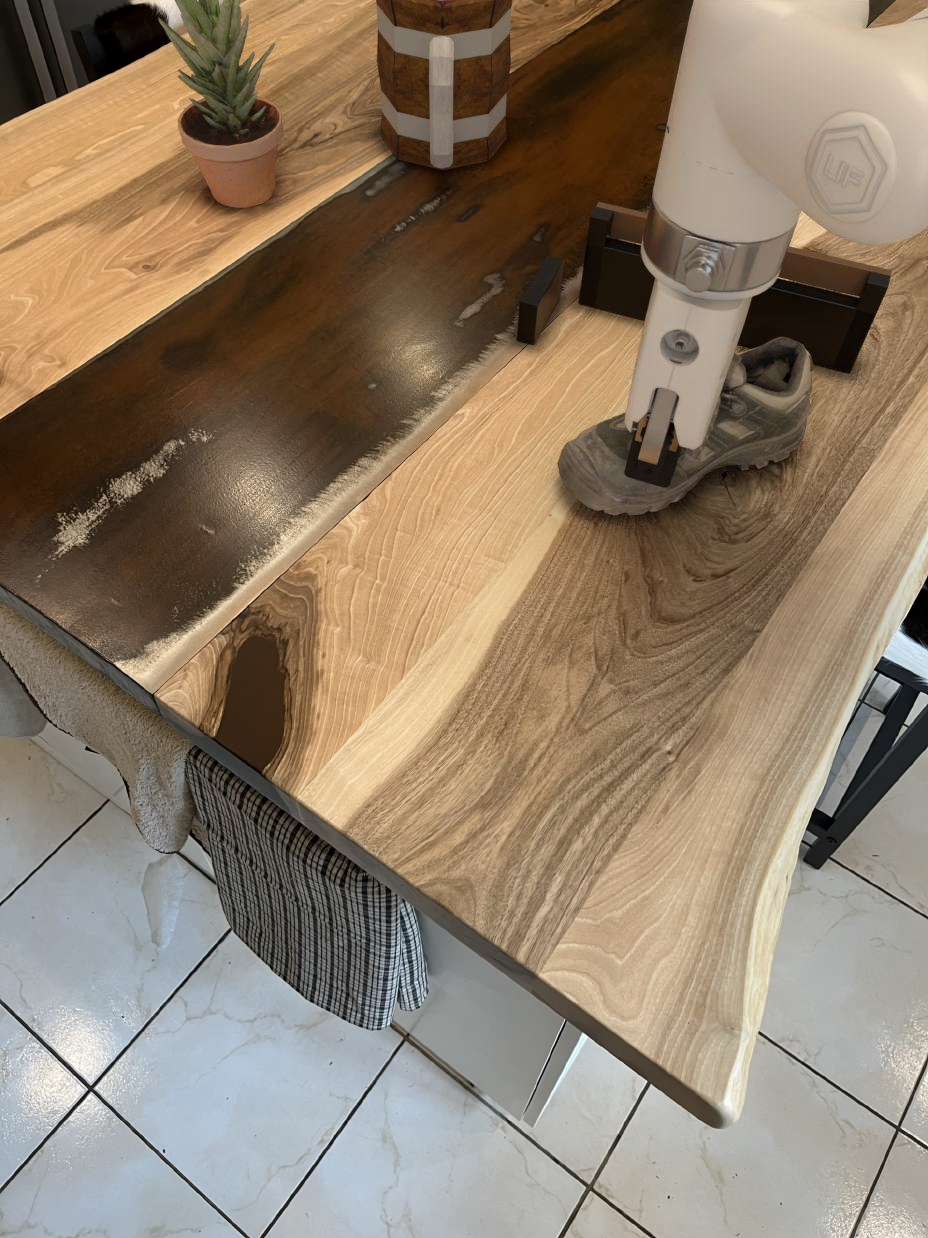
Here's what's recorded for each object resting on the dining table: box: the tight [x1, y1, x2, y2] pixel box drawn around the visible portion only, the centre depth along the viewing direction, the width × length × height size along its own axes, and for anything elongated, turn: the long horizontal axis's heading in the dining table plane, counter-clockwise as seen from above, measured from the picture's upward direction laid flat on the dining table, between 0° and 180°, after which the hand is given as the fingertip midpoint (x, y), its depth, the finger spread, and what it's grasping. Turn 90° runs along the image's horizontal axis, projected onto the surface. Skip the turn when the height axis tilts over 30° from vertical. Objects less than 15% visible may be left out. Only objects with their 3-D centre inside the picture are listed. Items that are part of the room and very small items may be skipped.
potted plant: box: [158, 0, 285, 209], centre depth 83 cm, size 10×10×25 cm
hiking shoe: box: [556, 337, 815, 516], centre depth 69 cm, size 9×21×12 cm, turn 117°
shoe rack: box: [516, 201, 893, 374], centre depth 77 cm, size 27×9×8 cm, turn 68°
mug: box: [375, 0, 513, 171], centre depth 92 cm, size 20×14×15 cm
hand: (648, 474), depth 65 cm, fingers closed
